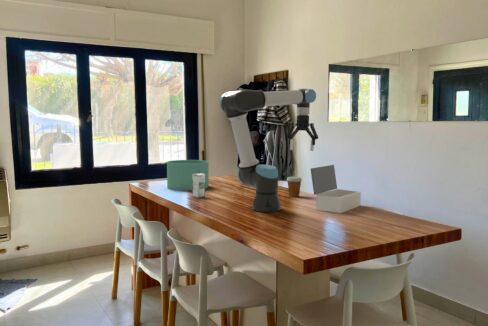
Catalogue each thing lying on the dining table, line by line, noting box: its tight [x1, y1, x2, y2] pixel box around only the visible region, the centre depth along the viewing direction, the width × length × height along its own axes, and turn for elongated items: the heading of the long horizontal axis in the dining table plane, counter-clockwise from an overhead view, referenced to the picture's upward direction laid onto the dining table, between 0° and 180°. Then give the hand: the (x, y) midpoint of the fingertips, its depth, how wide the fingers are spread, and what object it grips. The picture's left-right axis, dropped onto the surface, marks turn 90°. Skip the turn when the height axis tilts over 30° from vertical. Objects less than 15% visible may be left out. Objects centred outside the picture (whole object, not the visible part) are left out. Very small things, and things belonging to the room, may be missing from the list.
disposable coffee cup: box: [286, 176, 303, 198], centre depth 260 cm, size 10×10×12 cm
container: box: [166, 159, 210, 191], centre depth 296 cm, size 30×30×19 cm
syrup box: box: [191, 173, 206, 199], centre depth 256 cm, size 6×6×14 cm
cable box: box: [315, 188, 362, 214], centre depth 224 cm, size 26×14×8 cm, turn 142°
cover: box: [310, 164, 338, 195], centre depth 229 cm, size 26×14×1 cm
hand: (301, 150), depth 248 cm, fingers open, 13 cm apart
